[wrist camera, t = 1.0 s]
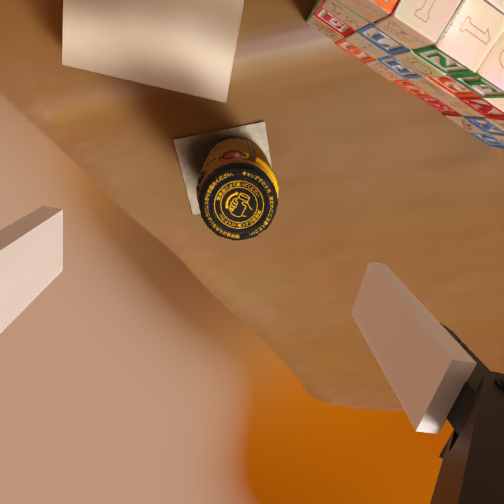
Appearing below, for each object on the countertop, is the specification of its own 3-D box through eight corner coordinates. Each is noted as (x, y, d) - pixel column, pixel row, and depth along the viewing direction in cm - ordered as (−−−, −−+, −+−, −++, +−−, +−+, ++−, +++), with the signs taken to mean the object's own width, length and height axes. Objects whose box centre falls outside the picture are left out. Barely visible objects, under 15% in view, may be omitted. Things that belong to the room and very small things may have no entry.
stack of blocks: (538, 84, 33) (697, 79, 22) (490, 147, 35) (613, 173, 24) (344, -60, 28) (419, -164, 17) (302, 23, 30) (343, -20, 19)
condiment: (276, 198, 36) (296, 243, 25) (192, 214, 36) (175, 266, 25) (264, 121, 33) (280, 134, 22) (173, 139, 33) (143, 161, 22)
